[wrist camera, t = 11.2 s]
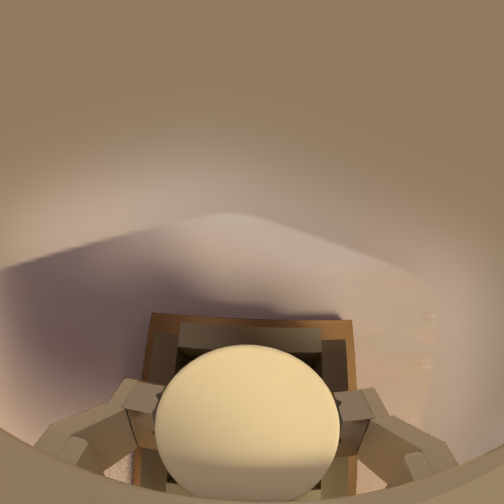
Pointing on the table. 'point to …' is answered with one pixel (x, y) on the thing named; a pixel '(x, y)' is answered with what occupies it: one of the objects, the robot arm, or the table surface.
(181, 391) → the supplement bottle
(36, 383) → the table surface
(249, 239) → the table surface
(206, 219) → the table surface
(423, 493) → the robot arm
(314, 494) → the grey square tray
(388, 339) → the table surface
